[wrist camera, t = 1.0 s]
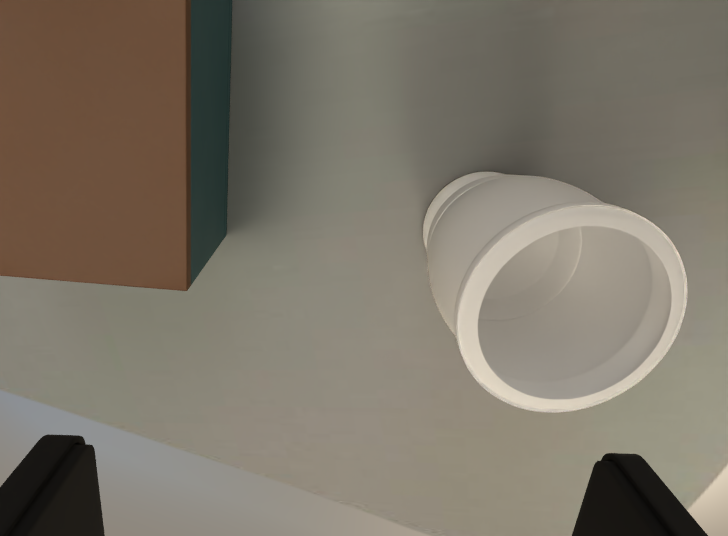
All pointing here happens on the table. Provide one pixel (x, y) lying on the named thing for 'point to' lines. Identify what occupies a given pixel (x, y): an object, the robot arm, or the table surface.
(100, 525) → the robot arm
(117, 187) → the toy box lid
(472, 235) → the jar
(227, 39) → the toy box
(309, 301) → the table surface
